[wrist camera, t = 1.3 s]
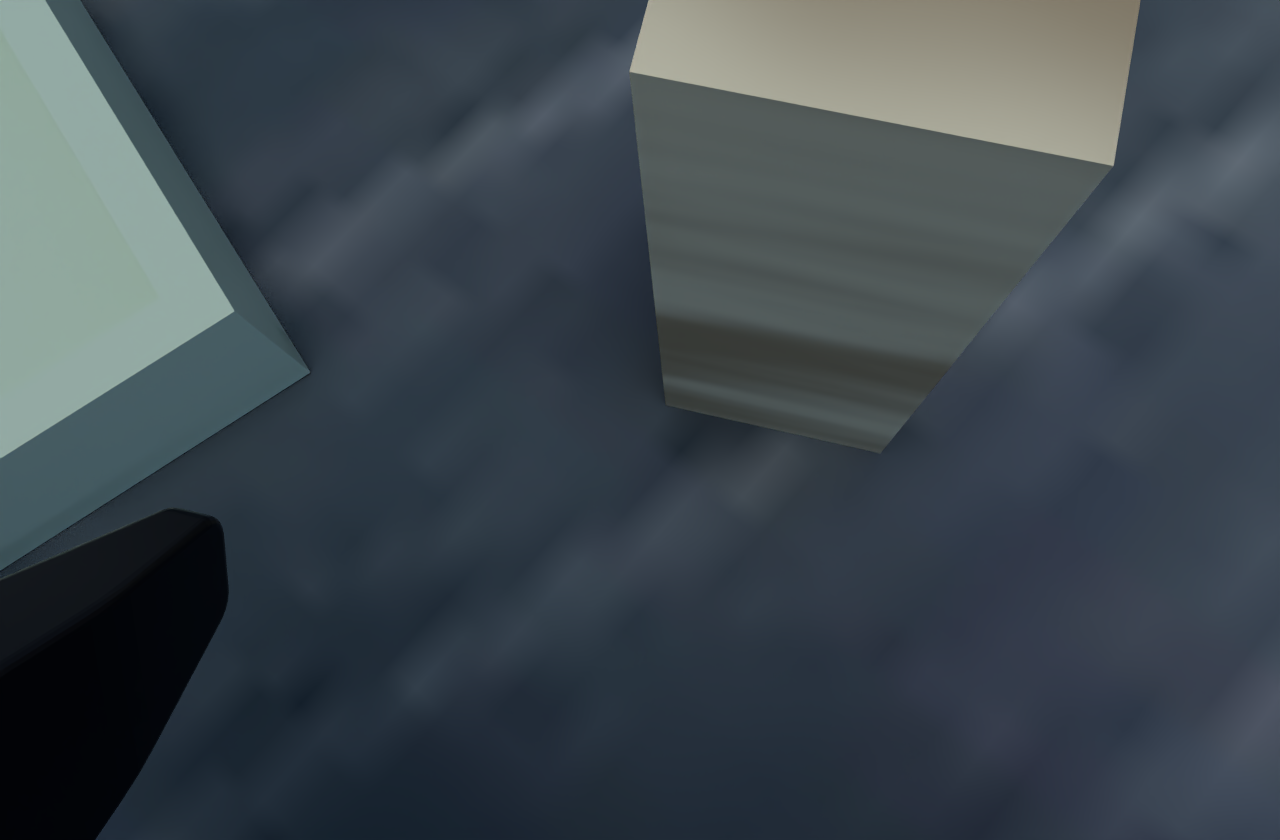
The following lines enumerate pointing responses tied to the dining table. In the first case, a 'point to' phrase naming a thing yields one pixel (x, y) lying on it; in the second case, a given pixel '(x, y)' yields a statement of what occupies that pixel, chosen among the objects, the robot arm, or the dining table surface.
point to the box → (107, 287)
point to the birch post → (858, 189)
